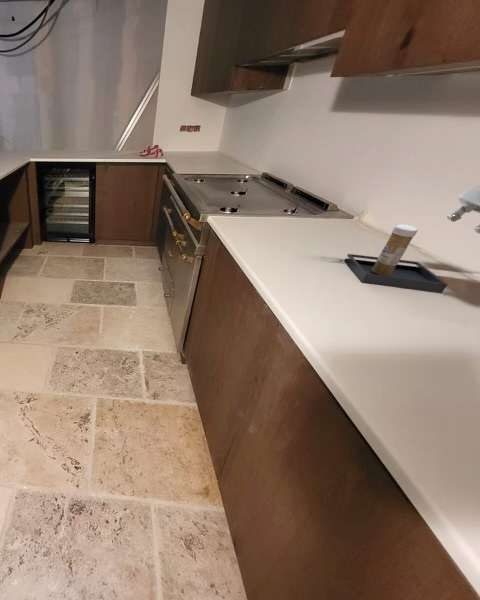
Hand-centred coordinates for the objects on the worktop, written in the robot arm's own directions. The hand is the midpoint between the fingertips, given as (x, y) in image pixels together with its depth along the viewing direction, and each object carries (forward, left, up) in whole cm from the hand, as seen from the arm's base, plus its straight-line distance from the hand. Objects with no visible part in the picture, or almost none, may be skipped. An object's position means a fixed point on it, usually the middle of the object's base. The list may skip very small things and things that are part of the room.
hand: (462, 224), depth 79 cm
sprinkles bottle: (+10, -1, -16) cm, 18 cm away
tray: (+8, -1, -16) cm, 18 cm away
